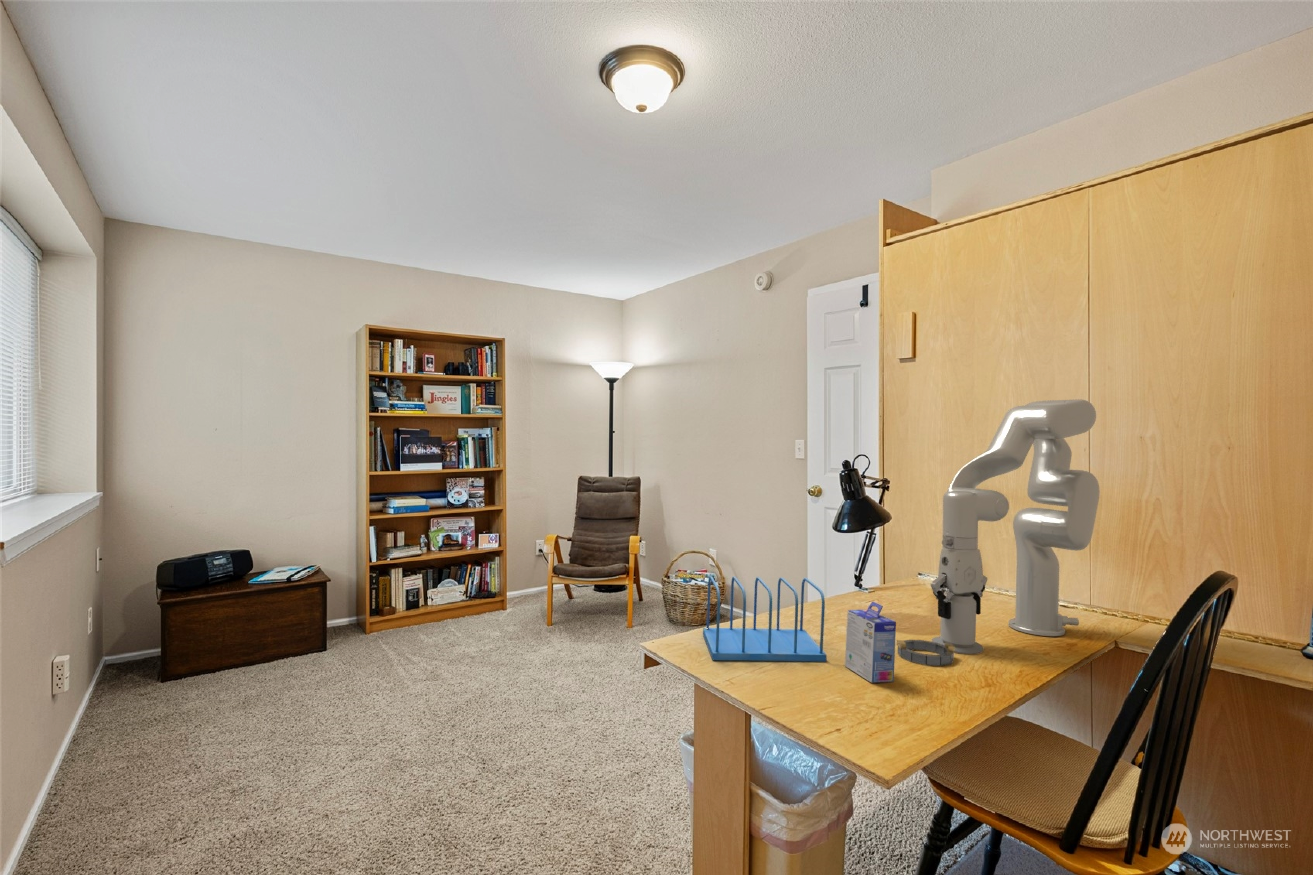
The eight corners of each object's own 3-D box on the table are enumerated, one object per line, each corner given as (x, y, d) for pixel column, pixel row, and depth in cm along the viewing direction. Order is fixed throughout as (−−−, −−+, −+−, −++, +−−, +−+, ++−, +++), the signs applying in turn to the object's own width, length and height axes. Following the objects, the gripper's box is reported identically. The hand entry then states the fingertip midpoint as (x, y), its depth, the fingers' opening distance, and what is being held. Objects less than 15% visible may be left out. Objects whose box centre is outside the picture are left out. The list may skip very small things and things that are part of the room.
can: (981, 649, 144) (982, 597, 144) (948, 648, 144) (950, 596, 144) (966, 638, 151) (967, 589, 151) (934, 637, 151) (936, 588, 151)
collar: (944, 649, 144) (944, 637, 144) (962, 667, 133) (962, 653, 133) (891, 646, 146) (891, 634, 146) (904, 663, 135) (905, 650, 135)
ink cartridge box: (896, 682, 124) (898, 609, 124) (872, 684, 123) (874, 611, 123) (866, 664, 134) (868, 597, 134) (843, 666, 132) (845, 598, 132)
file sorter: (712, 662, 134) (714, 590, 134) (702, 636, 151) (704, 573, 151) (827, 662, 135) (828, 592, 135) (804, 636, 152) (805, 574, 152)
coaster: (972, 640, 152) (972, 637, 152) (991, 655, 141) (991, 653, 141) (925, 637, 153) (925, 635, 153) (940, 652, 142) (940, 650, 142)
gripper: (946, 548, 140) (945, 624, 141) (999, 543, 147) (998, 615, 148) (920, 543, 147) (919, 615, 148) (972, 538, 154) (971, 607, 154)
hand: (959, 615), depth 148 cm, fingers open, 9 cm apart
